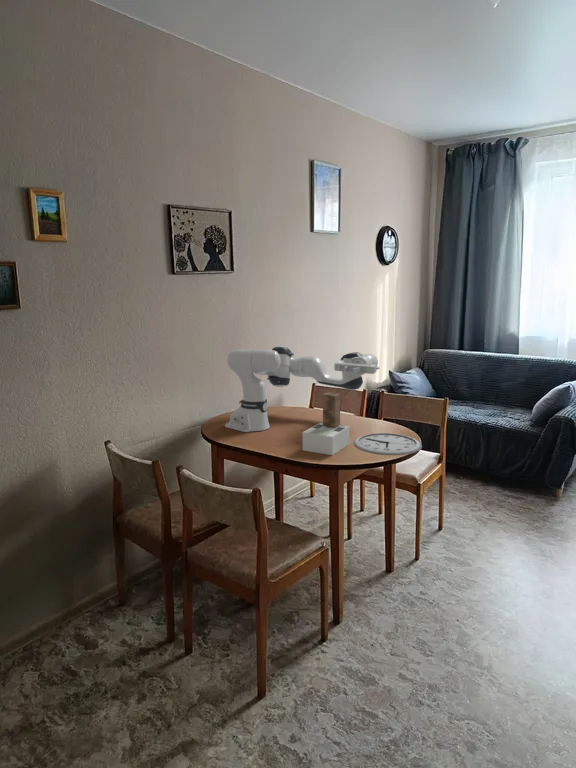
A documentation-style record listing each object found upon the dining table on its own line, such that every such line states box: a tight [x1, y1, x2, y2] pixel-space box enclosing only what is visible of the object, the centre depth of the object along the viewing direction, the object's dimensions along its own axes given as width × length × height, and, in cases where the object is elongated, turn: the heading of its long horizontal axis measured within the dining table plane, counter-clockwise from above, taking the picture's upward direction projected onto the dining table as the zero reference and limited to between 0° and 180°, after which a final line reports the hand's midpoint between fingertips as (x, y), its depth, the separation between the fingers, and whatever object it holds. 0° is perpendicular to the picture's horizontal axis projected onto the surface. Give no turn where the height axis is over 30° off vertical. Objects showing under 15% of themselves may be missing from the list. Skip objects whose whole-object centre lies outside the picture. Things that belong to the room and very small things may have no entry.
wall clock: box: [352, 432, 423, 456], centre depth 236 cm, size 30×2×30 cm
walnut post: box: [322, 392, 341, 427], centre depth 234 cm, size 6×5×14 cm
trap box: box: [302, 421, 351, 456], centre depth 232 cm, size 14×18×8 cm
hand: (349, 370), depth 247 cm, fingers open, 2 cm apart
